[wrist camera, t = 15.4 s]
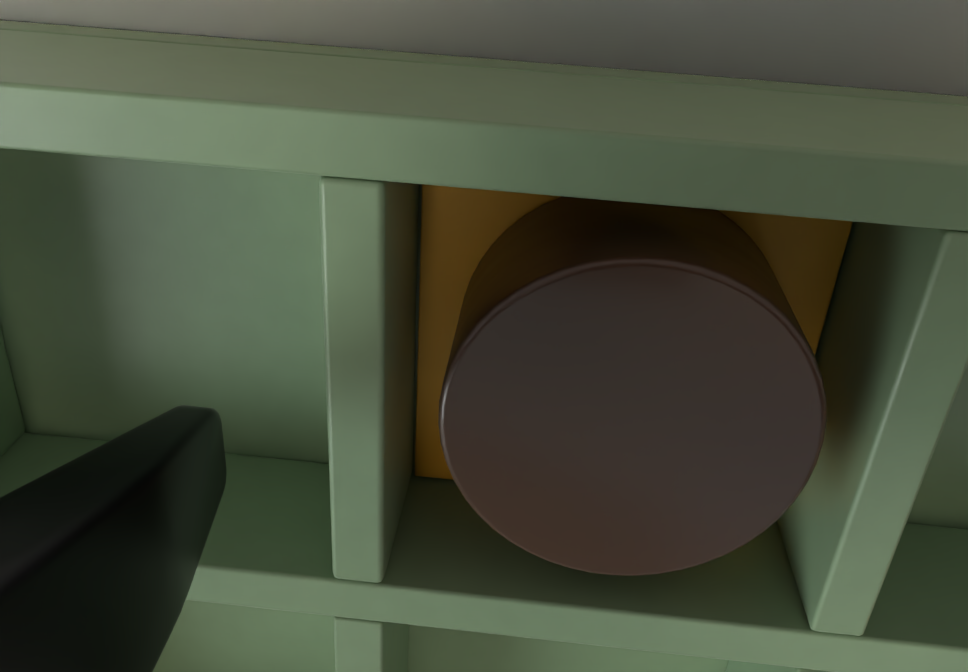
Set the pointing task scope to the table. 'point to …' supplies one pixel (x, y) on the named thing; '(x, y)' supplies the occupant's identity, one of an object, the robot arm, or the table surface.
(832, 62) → the table surface
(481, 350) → the cylinder
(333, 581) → the grid
